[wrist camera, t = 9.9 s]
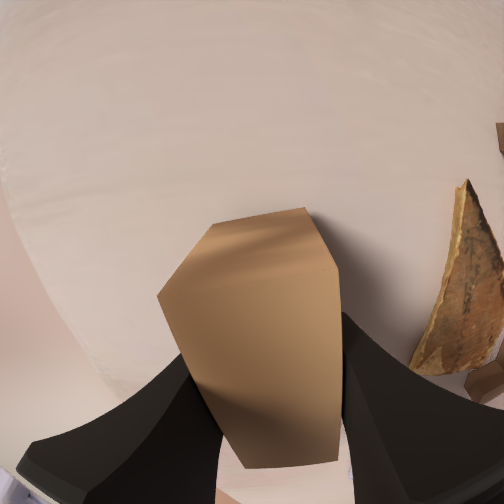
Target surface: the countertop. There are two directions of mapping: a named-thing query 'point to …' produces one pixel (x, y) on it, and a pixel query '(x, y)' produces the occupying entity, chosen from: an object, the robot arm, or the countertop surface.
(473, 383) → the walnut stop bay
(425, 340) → the shard
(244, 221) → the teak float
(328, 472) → the countertop surface
